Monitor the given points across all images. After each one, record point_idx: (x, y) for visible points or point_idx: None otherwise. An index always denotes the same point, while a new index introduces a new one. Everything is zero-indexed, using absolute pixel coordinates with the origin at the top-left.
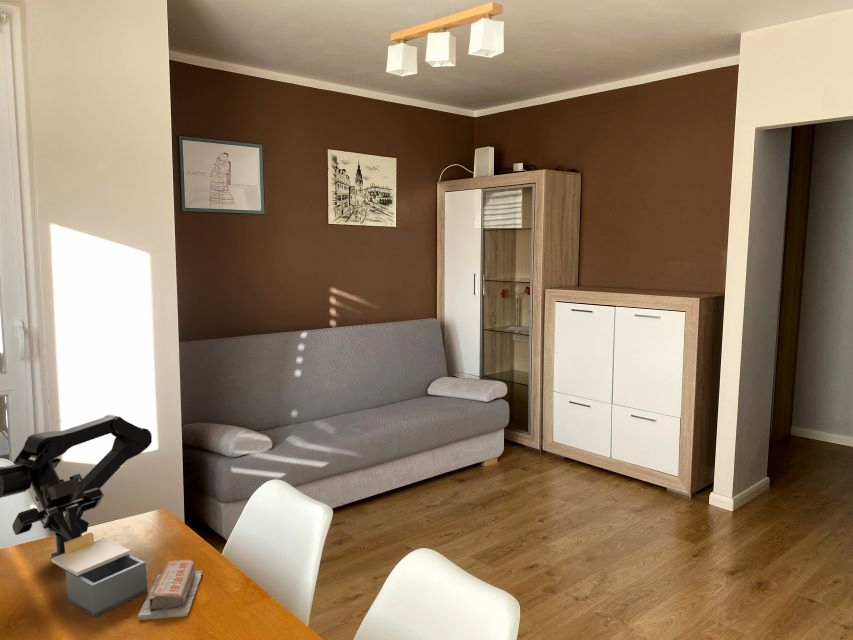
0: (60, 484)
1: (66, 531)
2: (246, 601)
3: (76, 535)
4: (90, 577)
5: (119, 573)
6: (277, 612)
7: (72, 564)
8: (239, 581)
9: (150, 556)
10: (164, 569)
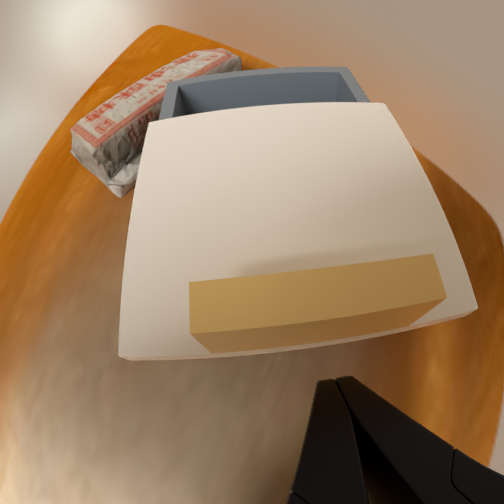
0: None
1: (424, 427)
2: (129, 64)
3: (314, 400)
4: None
5: (259, 69)
6: (136, 43)
7: (394, 161)
8: (82, 103)
9: (49, 340)
10: (133, 114)
